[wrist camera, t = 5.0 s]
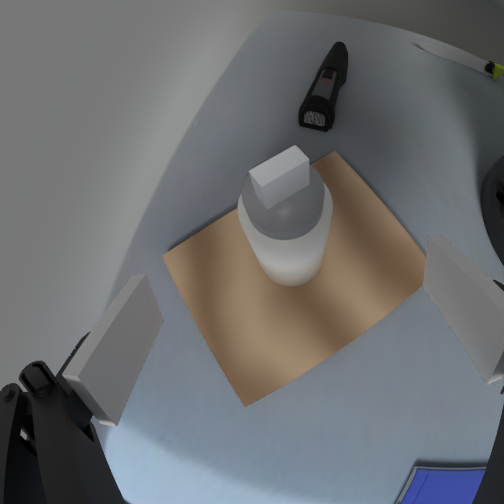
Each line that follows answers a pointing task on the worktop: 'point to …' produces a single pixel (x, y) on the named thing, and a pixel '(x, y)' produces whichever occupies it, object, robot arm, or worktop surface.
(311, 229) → the white bottle
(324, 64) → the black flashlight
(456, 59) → the kitchen knife
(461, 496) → the hard drive
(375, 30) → the worktop surface
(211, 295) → the board
